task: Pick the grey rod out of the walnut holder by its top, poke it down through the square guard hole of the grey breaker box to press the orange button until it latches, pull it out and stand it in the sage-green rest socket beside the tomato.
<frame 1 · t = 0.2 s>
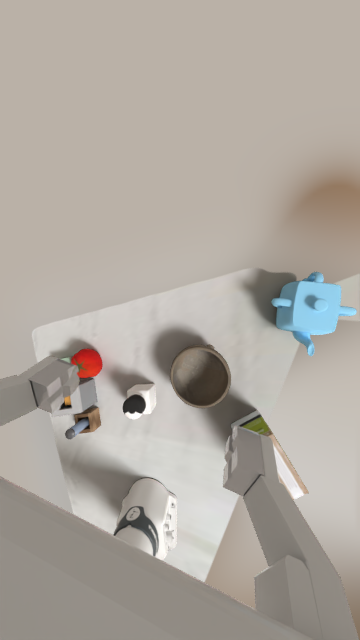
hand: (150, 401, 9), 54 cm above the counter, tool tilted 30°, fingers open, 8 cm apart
bowl: (200, 370, 62), on the counter
teapot: (294, 315, 59), on the counter
breaker box: (83, 392, 68), on the counter
tea box: (256, 437, 59), on the counter
stylus holder: (92, 417, 67), on the counter
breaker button: (71, 398, 62), point 6 cm above the counter, slide at 0.0 cm
grey rod: (90, 418, 66), point 1 cm above the counter, touching stylus holder
tomato: (94, 361, 68), on the counter
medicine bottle: (146, 394, 65), on the counter
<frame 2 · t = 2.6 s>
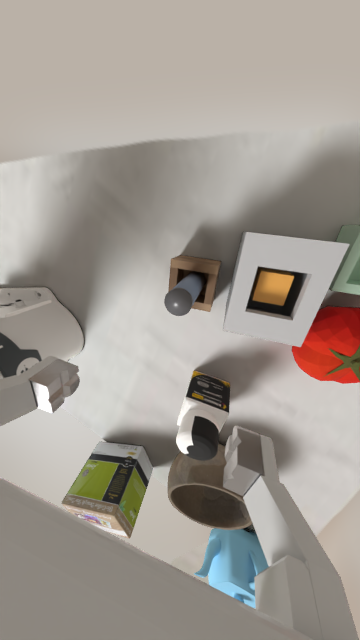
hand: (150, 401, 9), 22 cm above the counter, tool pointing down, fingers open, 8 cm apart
bowl: (213, 454, 45), on the counter
teapot: (233, 527, 57), on the counter
breaker box: (263, 275, 26), on the counter
tea box: (127, 453, 55), on the counter
stylus holder: (197, 278, 28), on the counter
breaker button: (270, 285, 21), point 6 cm above the counter, slide at 0.0 cm
grey rod: (196, 280, 28), point 1 cm above the counter, touching stylus holder
tomato: (323, 329, 27), on the counter
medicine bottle: (206, 387, 37), on the counter
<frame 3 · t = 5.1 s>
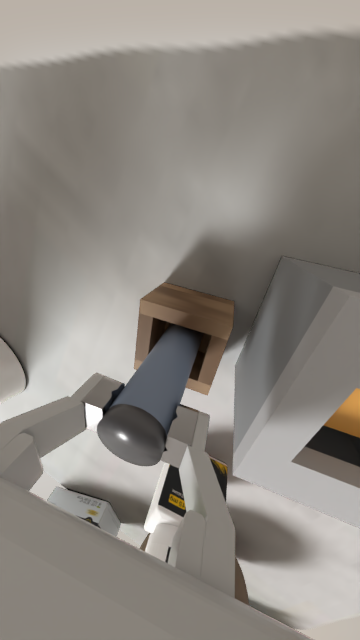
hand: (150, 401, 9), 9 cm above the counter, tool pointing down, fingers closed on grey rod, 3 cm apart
bowl: (196, 528, 35), on the counter
breaker box: (307, 334, 15), on the counter
tea box: (90, 502, 45), on the counter
stylus holder: (190, 322, 17), on the counter
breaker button: (343, 388, 10), point 6 cm above the counter, slide at 0.0 cm
grey rod: (188, 327, 16), point 1 cm above the counter, touching gripper, stylus holder
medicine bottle: (193, 462, 26), on the counter
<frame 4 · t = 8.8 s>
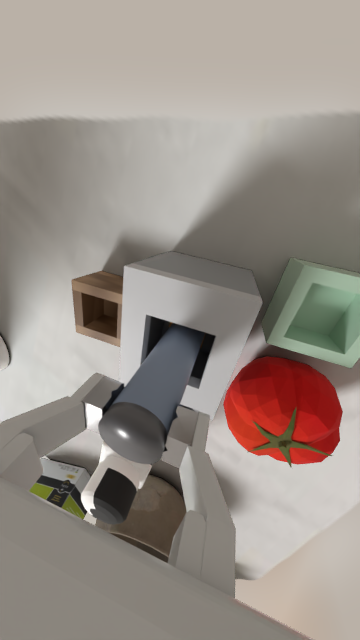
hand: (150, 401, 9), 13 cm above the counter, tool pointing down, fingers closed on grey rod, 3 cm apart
bowl: (157, 486, 41), on the counter
rest socket: (311, 302, 17), on the counter
breaker box: (198, 306, 21), on the counter
tea box: (71, 472, 50), on the counter
stylus holder: (123, 301, 23), on the counter
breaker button: (190, 321, 17), point 4 cm above the counter, slide at 1.9 cm, touching grey rod
grey rod: (189, 327, 16), point 5 cm above the counter, touching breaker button, gripper
tomato: (269, 376, 22), on the counter
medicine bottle: (145, 421, 32), on the counter
when the fingers open (9 cm above the counter, at t = 12.8 s): grey rod stays where it is, resting on rest socket.
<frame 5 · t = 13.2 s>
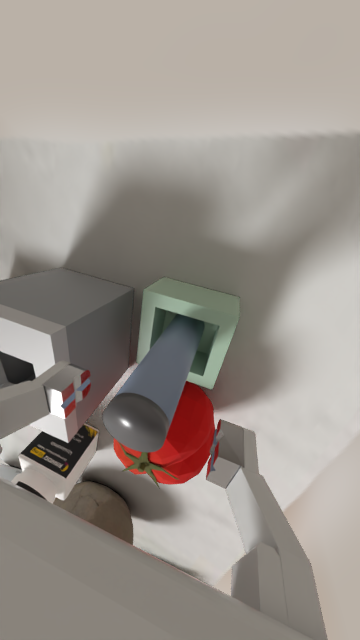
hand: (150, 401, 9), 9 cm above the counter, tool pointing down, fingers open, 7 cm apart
bowl: (106, 493, 41), on the counter
rest socket: (192, 320, 17), on the counter
breaker box: (97, 322, 21), on the counter
grey rod: (188, 324, 16), point 1 cm above the counter, touching rest socket
tomato: (175, 391, 22), on the counter
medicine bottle: (80, 430, 32), on the counter
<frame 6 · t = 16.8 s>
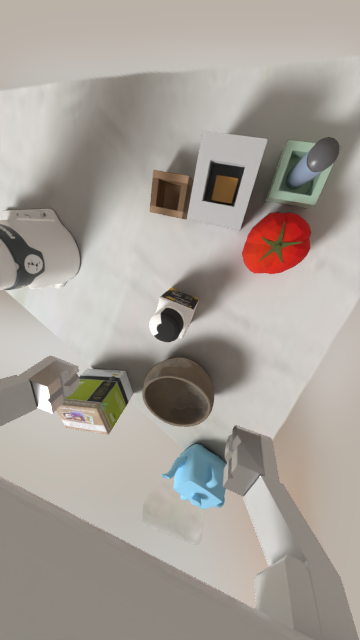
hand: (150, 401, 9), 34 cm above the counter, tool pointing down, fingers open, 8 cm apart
bowl: (184, 374, 53), on the counter
rest socket: (294, 180, 30), on the counter
teapot: (199, 452, 66), on the counter
breaker box: (226, 194, 33), on the counter
tea box: (111, 380, 63), on the counter
stylus holder: (175, 198, 35), on the counter
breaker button: (224, 191, 30), point 4 cm above the counter, slide at 1.9 cm
grey rod: (296, 178, 29), point 1 cm above the counter, touching rest socket
tomato: (270, 244, 35), on the counter
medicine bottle: (180, 306, 45), on the counter
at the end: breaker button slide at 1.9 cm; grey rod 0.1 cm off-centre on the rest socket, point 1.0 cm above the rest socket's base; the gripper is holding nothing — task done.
